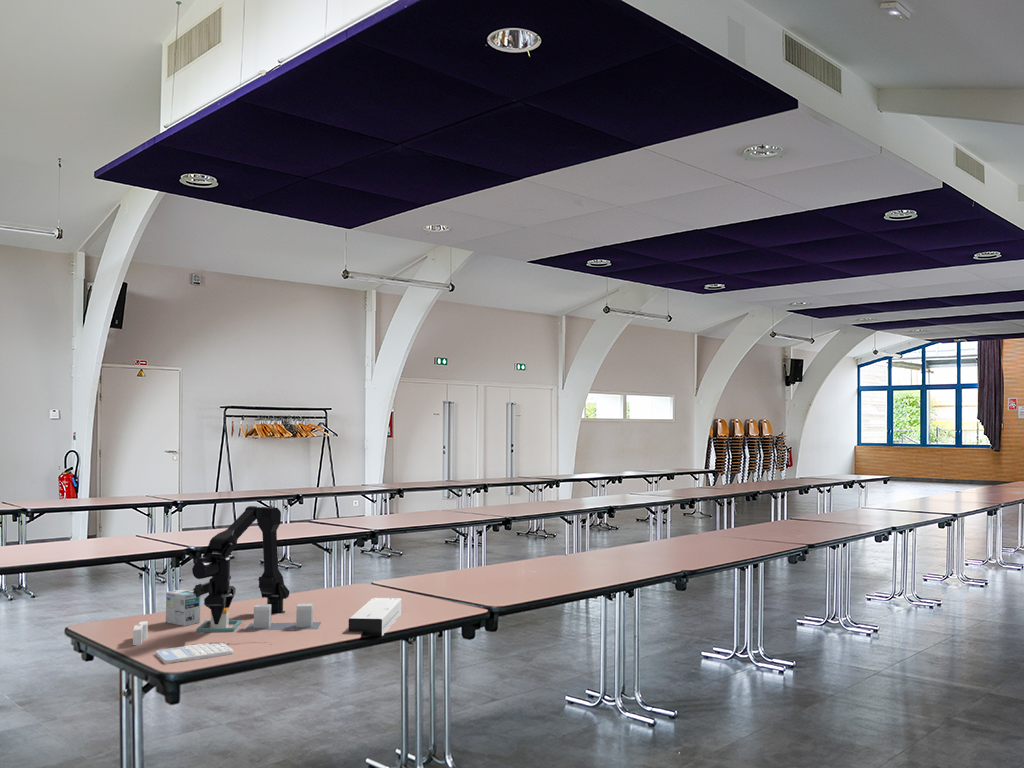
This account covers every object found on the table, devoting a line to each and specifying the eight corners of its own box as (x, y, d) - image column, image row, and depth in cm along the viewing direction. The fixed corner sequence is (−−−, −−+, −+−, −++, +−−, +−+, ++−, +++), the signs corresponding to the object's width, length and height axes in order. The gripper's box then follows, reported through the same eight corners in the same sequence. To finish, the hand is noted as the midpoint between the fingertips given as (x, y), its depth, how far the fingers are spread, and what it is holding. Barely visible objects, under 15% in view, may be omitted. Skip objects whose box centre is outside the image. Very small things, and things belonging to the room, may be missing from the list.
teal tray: (205, 628, 284) (205, 620, 284) (241, 627, 285) (241, 619, 285) (196, 636, 272) (196, 629, 272) (233, 636, 273) (234, 628, 273)
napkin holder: (139, 649, 258) (139, 630, 258) (110, 646, 262) (110, 627, 262) (172, 637, 272) (173, 620, 273) (144, 635, 276) (145, 617, 276)
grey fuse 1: (255, 625, 282) (256, 604, 282) (270, 625, 282) (271, 604, 283) (253, 628, 278) (253, 607, 278) (268, 627, 278) (269, 606, 279)
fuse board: (249, 627, 284) (250, 623, 285) (321, 626, 287) (321, 622, 287) (243, 635, 275) (243, 630, 275) (317, 633, 277) (317, 628, 277)
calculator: (234, 655, 252) (234, 649, 252) (164, 666, 240) (165, 659, 241) (222, 646, 263) (222, 639, 263) (154, 655, 251) (154, 649, 251)
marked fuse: (213, 628, 280) (213, 607, 281) (228, 628, 281) (229, 607, 281) (210, 631, 276) (210, 610, 277) (225, 631, 277) (226, 610, 277)
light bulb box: (200, 622, 292) (201, 591, 292) (184, 626, 286) (185, 595, 287) (180, 619, 297) (181, 588, 298) (164, 622, 291) (165, 591, 292)
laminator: (381, 638, 273) (381, 619, 274) (344, 637, 274) (345, 618, 274) (401, 614, 307) (401, 598, 308) (369, 614, 308) (369, 597, 308)
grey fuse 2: (297, 624, 283) (298, 603, 284) (312, 624, 284) (313, 603, 284) (296, 627, 279) (296, 606, 280) (311, 627, 280) (311, 606, 280)
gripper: (203, 569, 288) (202, 615, 287) (188, 579, 269) (187, 628, 269) (236, 569, 289) (235, 614, 288) (223, 579, 271) (222, 627, 270)
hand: (219, 621), depth 279 cm, fingers open, 9 cm apart
